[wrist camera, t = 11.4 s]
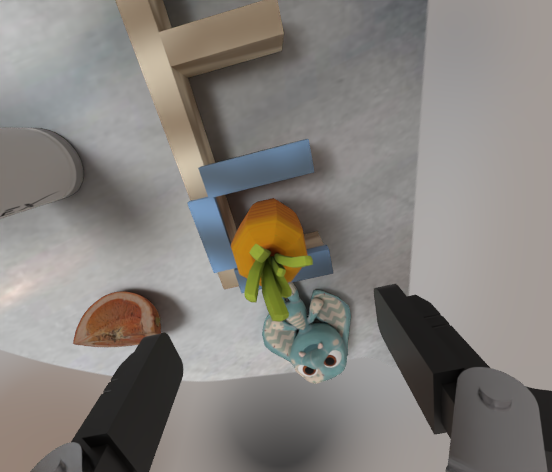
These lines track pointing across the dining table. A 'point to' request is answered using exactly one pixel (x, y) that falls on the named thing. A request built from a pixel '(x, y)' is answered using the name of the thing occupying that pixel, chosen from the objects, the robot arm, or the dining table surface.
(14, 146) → the travel mug
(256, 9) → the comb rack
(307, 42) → the dining table surface
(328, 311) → the stuffed animal
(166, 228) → the dining table surface
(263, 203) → the carrot
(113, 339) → the fruit slice
